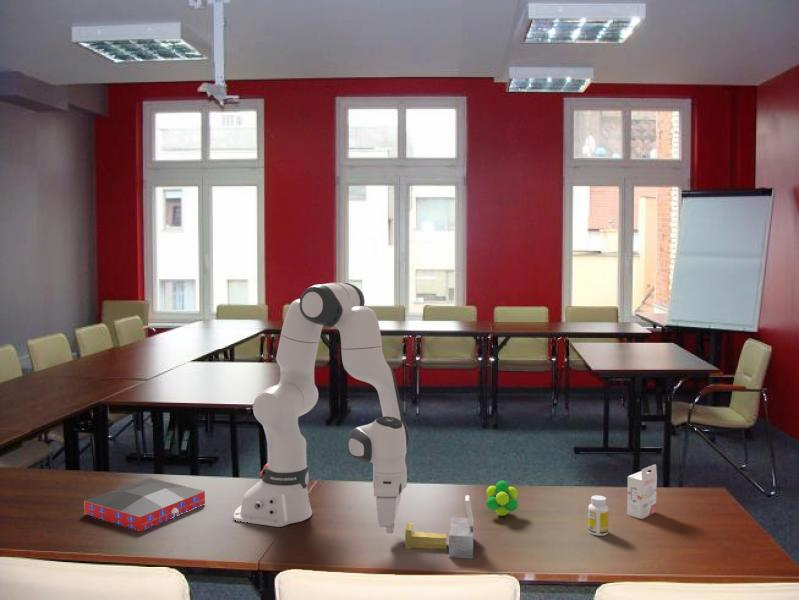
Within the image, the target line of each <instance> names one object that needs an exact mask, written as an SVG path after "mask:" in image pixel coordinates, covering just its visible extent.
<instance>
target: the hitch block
mask: <svg viewBox="0 0 799 600" xmlns="http://www.w3.org/2000/svg"><path fill="white" fill-rule="evenodd" d="M474 520H475V517H473V521H474ZM474 522H475V521H474ZM474 527H475V525H473V529H470V528H469V522H468V517H466V516H465V517H464V516H463V517H461V516H451V517H450V525H449V534H448V535H449V537H448V558H456V559H457V558H458V559H473V560H474V531H475V529H474Z"/></svg>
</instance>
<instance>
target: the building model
mask: <svg viewBox="0 0 799 600" xmlns="http://www.w3.org/2000/svg"><path fill="white" fill-rule="evenodd" d="M205 497H206V493H205V490H202V489H198V488H194V487H190V486H185V485H181V484H178V483H172V482H168V481H164V480H160V479H156V478H152V477H148V478H146V479H142V480H139V481H137V482H135V483H131V484H128V485H125V486H122V487H120V488H119V487H118V488H116V489H114V490H110V491H108V492H105V493H102V494H99V495H96V496H93V497H90V498H87V499H84V500H83V502H84V504H83V506H84V507H83V508H84V515H85V514H87V515H90V516H94V517H96V518H99V519H104V520H106V521H109V522H113V523H116V524H120V525H123V526H126V527H129V528H128V529H130V528H133V529H136V530H139V531H142V530H144V529H146V528H148V527H151V526H154V525H156V524H159V523H161V522H163V521H166V520H168V519H170V518H172V517H175V516H177V515H178V516H179V514H181V513H184V512H186V511H189V510H191V509H193V508H195V507H198V506H200V505H203V504H205V505H206V498H205ZM189 512H190V511H189ZM179 517H180V516H179ZM96 518H95V519H96ZM175 518H176V517H175ZM99 519H98V520H99ZM106 521H105V522H106ZM168 521H169V520H168ZM109 522H108V523H109ZM166 522H167V521H166ZM163 523H164V522H163ZM116 524H115V525H116ZM161 524H162V523H161ZM159 525H160V524H159ZM156 526H157V525H156ZM126 527H125V528H126ZM154 527H155V526H154ZM151 528H152V527H151ZM133 529H132V530H133ZM136 530H135V531H136ZM139 531H138V532H139ZM144 531H145V530H144ZM142 532H143V531H142Z"/></svg>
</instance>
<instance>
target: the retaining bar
mask: <svg viewBox="0 0 799 600" xmlns="http://www.w3.org/2000/svg"><path fill="white" fill-rule="evenodd" d="M464 499H465V500H464V502H465V509H466V514H467V518H468V522H469V528H470V529H473V525H474V524H475V523H474V522H475V521H473V518H474V516H473V510H472V503H471V499H470V495H469V494H468V495H466V494H465V498H464ZM474 526H475V525H474Z"/></svg>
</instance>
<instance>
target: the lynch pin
mask: <svg viewBox="0 0 799 600" xmlns="http://www.w3.org/2000/svg"><path fill="white" fill-rule="evenodd" d="M404 533H405V534H404V535H405V542H404V543H405V544H404V545H405V546H404V548H405V549H407V550H411V549H412V548H417V549H434V550H447V546H448V545H447V533H440V532H422V531H414V522H407V523H406V526H405V531H404Z"/></svg>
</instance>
